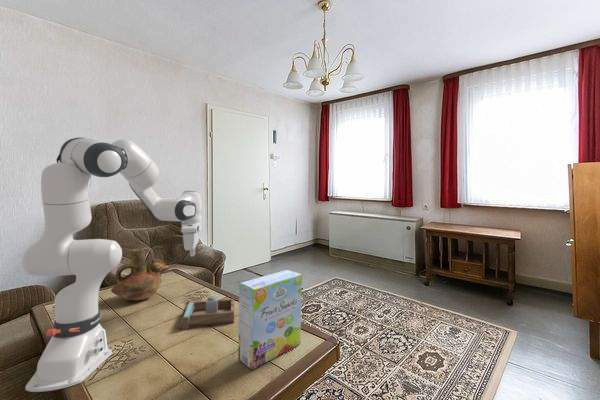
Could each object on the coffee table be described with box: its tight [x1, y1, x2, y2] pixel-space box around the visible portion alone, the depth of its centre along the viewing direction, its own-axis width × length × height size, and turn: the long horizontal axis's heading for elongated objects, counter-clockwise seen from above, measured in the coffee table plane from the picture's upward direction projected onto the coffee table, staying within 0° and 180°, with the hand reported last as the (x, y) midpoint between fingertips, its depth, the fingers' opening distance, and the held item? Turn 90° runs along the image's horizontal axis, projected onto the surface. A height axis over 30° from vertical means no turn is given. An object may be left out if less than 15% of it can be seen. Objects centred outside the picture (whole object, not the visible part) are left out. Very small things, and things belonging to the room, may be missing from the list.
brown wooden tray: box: [178, 297, 235, 331], centre depth 128 cm, size 30×21×4 cm
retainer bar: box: [184, 302, 193, 320], centre depth 120 cm, size 14×2×3 cm, turn 13°
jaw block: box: [205, 295, 219, 313], centre depth 122 cm, size 4×4×8 cm
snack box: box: [237, 269, 303, 371], centre depth 96 cm, size 22×9×26 cm, turn 136°
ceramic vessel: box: [110, 248, 171, 302], centre depth 142 cm, size 17×26×25 cm, turn 123°
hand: (192, 255), depth 132 cm, fingers closed
